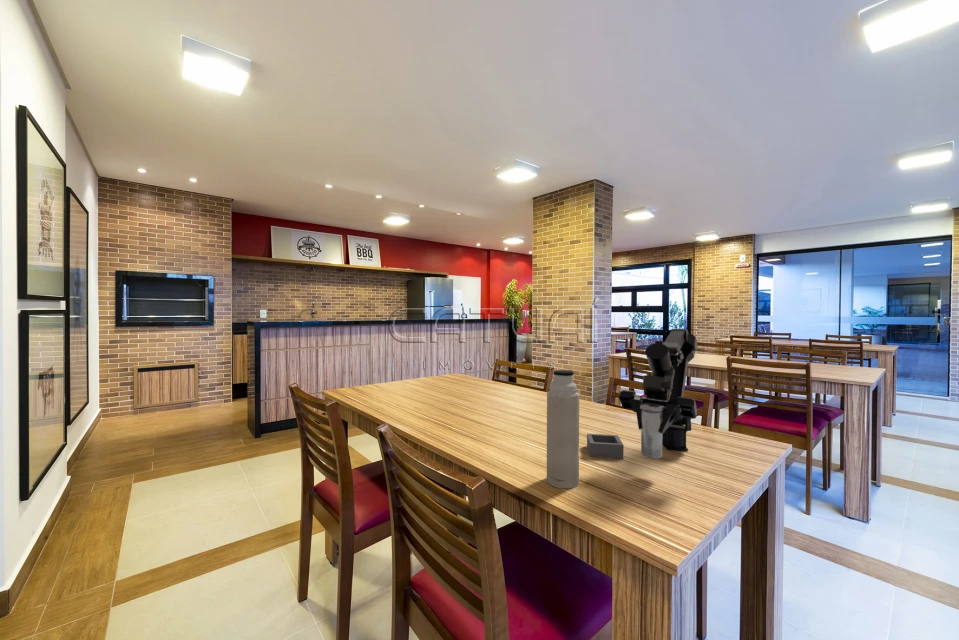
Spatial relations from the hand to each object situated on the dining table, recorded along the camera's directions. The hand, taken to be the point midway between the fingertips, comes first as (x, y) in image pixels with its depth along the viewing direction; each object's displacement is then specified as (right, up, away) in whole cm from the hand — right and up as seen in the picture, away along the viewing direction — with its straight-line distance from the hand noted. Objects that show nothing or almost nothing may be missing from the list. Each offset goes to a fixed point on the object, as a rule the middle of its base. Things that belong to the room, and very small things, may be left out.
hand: (650, 430), depth 98 cm
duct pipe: (+1, -7, +1) cm, 7 cm away
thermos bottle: (-23, -12, -2) cm, 26 cm away
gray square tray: (-6, -12, +19) cm, 23 cm away
